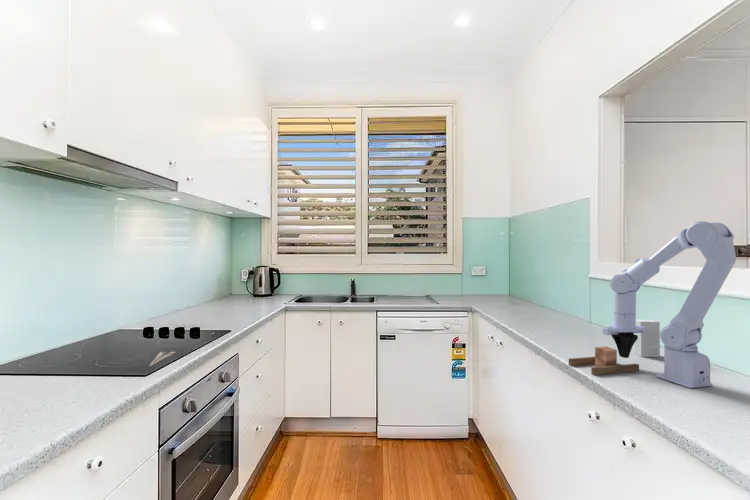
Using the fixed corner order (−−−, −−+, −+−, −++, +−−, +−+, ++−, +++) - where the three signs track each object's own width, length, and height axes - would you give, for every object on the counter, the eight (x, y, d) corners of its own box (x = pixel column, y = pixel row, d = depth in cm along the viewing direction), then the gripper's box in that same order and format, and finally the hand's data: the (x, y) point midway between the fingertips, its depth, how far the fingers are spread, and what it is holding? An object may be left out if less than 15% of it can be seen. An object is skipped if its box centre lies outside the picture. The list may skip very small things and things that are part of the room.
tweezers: (161, 355, 130) (161, 349, 130) (176, 354, 131) (176, 349, 130) (136, 375, 113) (135, 368, 113) (152, 374, 113) (152, 368, 113)
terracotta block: (616, 369, 114) (616, 349, 114) (605, 370, 113) (605, 350, 113) (605, 365, 118) (605, 346, 118) (594, 366, 117) (595, 347, 117)
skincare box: (652, 354, 131) (652, 319, 131) (660, 357, 127) (660, 321, 127) (633, 353, 132) (633, 319, 132) (641, 357, 127) (641, 321, 127)
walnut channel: (639, 371, 112) (639, 364, 112) (594, 375, 109) (594, 368, 109) (610, 361, 122) (610, 355, 122) (568, 364, 118) (568, 358, 118)
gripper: (631, 310, 123) (631, 352, 123) (594, 311, 119) (594, 354, 120) (652, 314, 116) (652, 358, 116) (613, 315, 113) (613, 361, 113)
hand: (624, 356), depth 117 cm, fingers closed
